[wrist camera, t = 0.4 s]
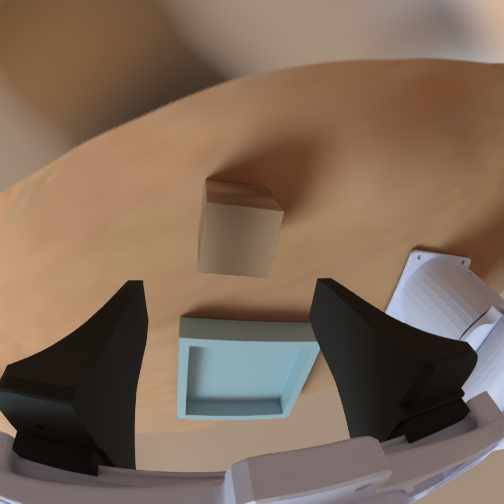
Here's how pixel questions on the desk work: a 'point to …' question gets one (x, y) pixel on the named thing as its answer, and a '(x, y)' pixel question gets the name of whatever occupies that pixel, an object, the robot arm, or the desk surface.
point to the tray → (242, 368)
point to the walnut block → (238, 229)
